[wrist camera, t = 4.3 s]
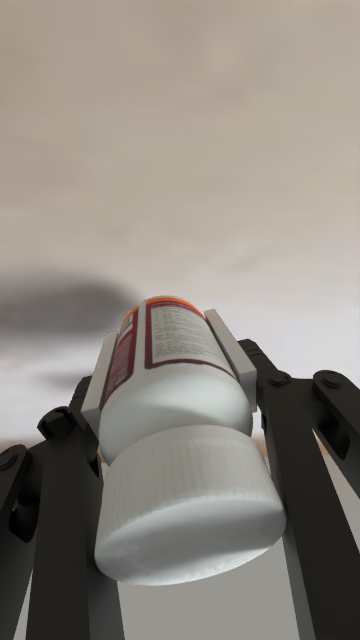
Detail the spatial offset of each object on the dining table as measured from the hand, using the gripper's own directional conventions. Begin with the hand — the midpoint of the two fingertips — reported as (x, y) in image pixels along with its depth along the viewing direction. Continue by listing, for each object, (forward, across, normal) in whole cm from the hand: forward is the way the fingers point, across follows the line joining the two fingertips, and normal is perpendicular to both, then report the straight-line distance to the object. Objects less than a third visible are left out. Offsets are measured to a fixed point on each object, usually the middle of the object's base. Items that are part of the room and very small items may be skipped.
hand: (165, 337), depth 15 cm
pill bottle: (+1, 0, 0) cm, 1 cm away
